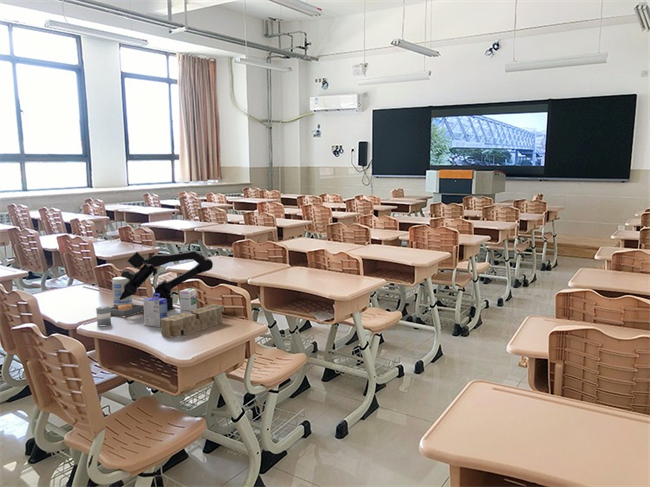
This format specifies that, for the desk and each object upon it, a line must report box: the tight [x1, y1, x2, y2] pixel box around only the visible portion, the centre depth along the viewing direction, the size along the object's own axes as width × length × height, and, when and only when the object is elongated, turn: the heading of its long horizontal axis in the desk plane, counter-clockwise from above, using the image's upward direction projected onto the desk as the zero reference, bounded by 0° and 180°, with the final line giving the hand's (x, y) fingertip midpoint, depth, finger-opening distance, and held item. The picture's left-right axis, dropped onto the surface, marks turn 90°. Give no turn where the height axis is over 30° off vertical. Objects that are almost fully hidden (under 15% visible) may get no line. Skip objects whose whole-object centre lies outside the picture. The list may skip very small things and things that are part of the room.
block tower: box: [160, 303, 225, 338], centre depth 218 cm, size 8×8×29 cm
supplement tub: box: [111, 276, 133, 306], centre depth 268 cm, size 10×10×15 cm
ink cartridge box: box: [142, 292, 169, 328], centre depth 225 cm, size 10×6×14 cm, turn 65°
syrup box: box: [179, 288, 199, 314], centre depth 233 cm, size 6×6×14 cm
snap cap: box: [118, 303, 132, 311], centre depth 249 cm, size 7×7×3 cm
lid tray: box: [110, 303, 144, 317], centre depth 249 cm, size 12×12×3 cm
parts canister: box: [95, 305, 112, 326], centre depth 228 cm, size 6×6×8 cm
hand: (121, 297), depth 248 cm, fingers open, 9 cm apart
